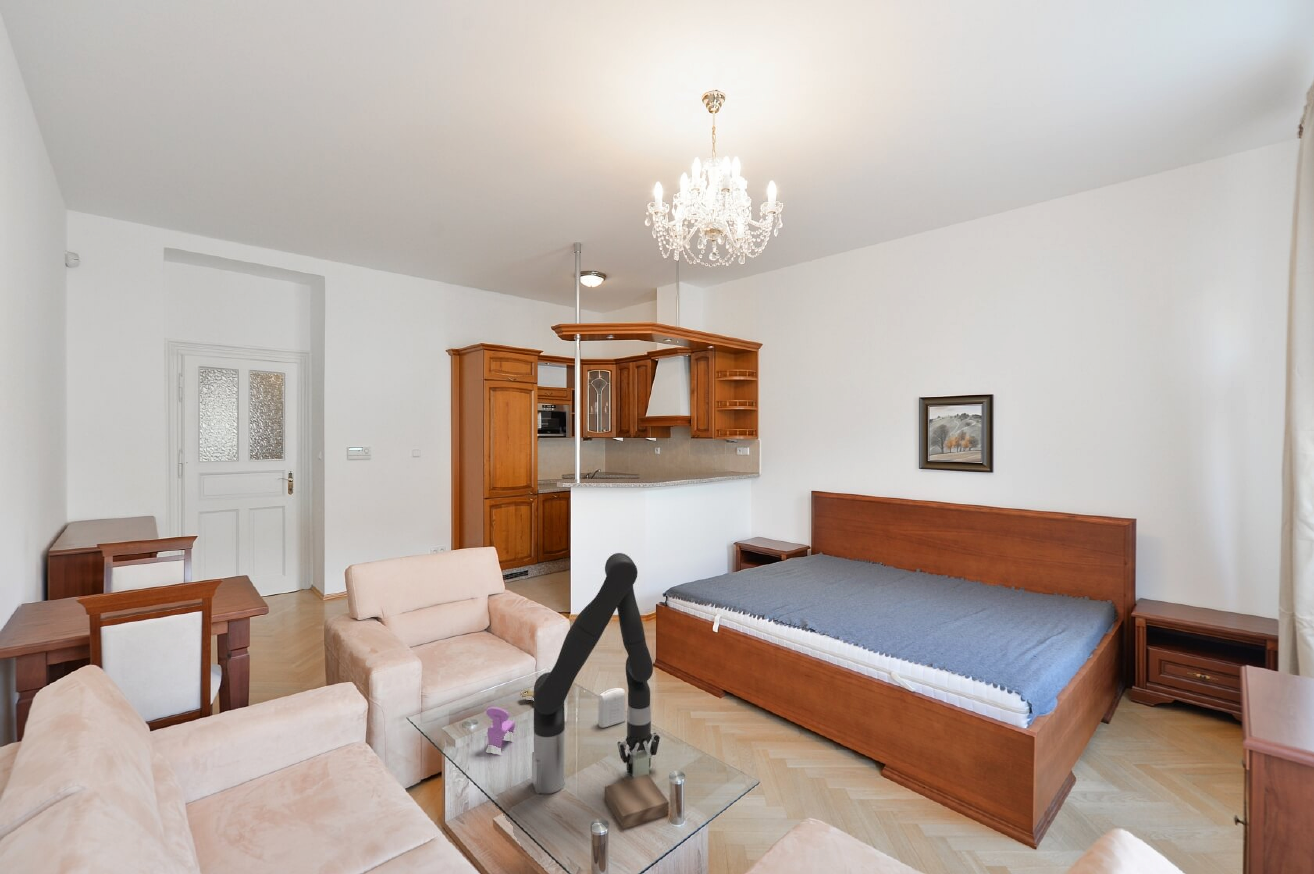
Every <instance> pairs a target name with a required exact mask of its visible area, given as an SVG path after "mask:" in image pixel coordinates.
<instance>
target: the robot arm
mask: <svg viewBox="0 0 1314 874" xmlns="http://www.w3.org/2000/svg"><path fill="white" fill-rule="evenodd" d="M604 572H605V579H604V582H603V583H602V584H601V586H600V589H599V590H598V593H597V594H596V595H595V597H594V598H593V599H592V600H591V601H590V602H589V603H588V604H587V605H586V606H584V608H583V609H582V610H581V611H580V612H579V613H578V615H577V617H576V618H575V620H574V621H573V622H572V625H571V626H570V628H569V630H568V631H567V634H566V635H565V638H564V640H563V643H562V644H561V645H562V646H561V648H560V652H559V655H558V657H557V659H556V662H555V664H554V666H553V667H552V669H551V671H550V672H544V673H543V674H541V675H540V676H539V677H538V678H537V679H536V680H535V681H534V682H535V683H534V686H533V691H534V702H533V751H532V752H531V784H532V786H533V788H534V790H535V793H536V794H537V795H538V794H546V795H547V794H554V793H556V792H559V791H561V790H562V789H563V787H565V782H566V781H565V779H566V778H565V777H566V775H565V771H566V770H565V767H566V765H565V763H566V762H565V760H566V759H565V758H566V757H565V756H566V755H565V754H566V753H565V751H566V750H565V744H566V742H565V741H566V740H565V738H566V737H565V736H566V734H565V732H566V731H565V726H566V725H565V724H566V723H565V722H566V719H565V712H566V711H565V701H566V698H567V696H568V694H569V692H570V689H571V687H572V685H573V683H574V681H575V679H576V677H577V676H578V674H579V673H580V671H581V669H582V668H583V666H584V664H585V663H586V661H587V660H588V658H589V657H590V655H591V653H592V652H593V650H594V648H595V647H596V645H597V644H598V643H599V640H600V639H601V637H602V635H603V633H604V631H605V630H606V628H607V626H608V625H609V622H610V621H611V619H612V617H613V615H614V614H615V611H616V610H617V616H618V622H619V628H620V633H621V634H620V635H621V638H622V643H623V648H624V649H625V651H626V653H627V657H626V660H625V676H626V684H627V690H628V691H627V709H626V710H627V711H626V738H625V740H624V741H618V742H617V747H618V752H619V755H620V759H621V760H622V762H623V764H626V771H627V773H628V774H629V775H631V774H633V763H632V762H633V758H634V757H635V755H636V752H638V751H640V750H644V751H645V752H646V754H648V755H649V768H651V764H652V763H651V759H652V756H656V755H657V753H658V749H659V744H660V743H659V742H660V739H661V737H660V735H659V734H658V733H657V732H654V733H651V732H652V730H651V729H652V709H651V688H650V686H649V683H648V681H649V679H651V677H652V675H653V672H654V665H653V661H652V657H651V654H650V650H649V648H648V645H647V641H646V634H645V629H644V624H643V621H642V617H641V613H640V609H639V607H638V602H637V599H636V596H635V595H636V594H635V590H634V589H635V588H634V584H635V583H636V580H637V579H638V567H637V565H636V564H635V562H634V560H632V558H631V557H630V556H628V554H625V553H622V552H617V553H616V552H615V553H613V554H611V555H610V556H609V557H608V558H607V560H606V562H605V565H604ZM650 742H651V744H650ZM649 744H650V747H649ZM627 746H628V748H627ZM626 749H627V753H626ZM631 776H632V775H631Z"/></svg>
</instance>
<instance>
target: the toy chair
mask: <svg viewBox="0 0 1314 874" xmlns="http://www.w3.org/2000/svg"><path fill="white" fill-rule="evenodd" d="M485 713H486V715H487V717H489V718H490V719H492V724H491V725H490V726H489V727H488V728H487V732H486V733H487V738H488V745H493V746H496V747H498V748H501V749H502V744H503V742H504V741H503V739H504V736H505V734H506V733H507V731H509V732H512V733H513V734H514V730H515V727H516V724H515V721H512V720H508V719H509V717H510V714H509V712H508V711H507V710H505V709H503V708H500V707H496V706H491V707H488V708H487V709H486V712H485Z"/></svg>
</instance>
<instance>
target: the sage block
mask: <svg viewBox="0 0 1314 874" xmlns="http://www.w3.org/2000/svg"><path fill="white" fill-rule="evenodd" d="M632 763H633V774H631V777H632V779H633V778H636V777H640V776H643V775H647V774H648V775H649V776H650V767H649V755H648V754H646V752H645V751H644V750H640V751H638V752H636V755H635V757H634V758H633V762H632Z"/></svg>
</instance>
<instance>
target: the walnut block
mask: <svg viewBox="0 0 1314 874" xmlns="http://www.w3.org/2000/svg"><path fill="white" fill-rule="evenodd" d="M603 794H604V800H605V801H606V803H607V805H608V807H609V809H610V810H611V812H612V814H613V816H615V819H616V821H617V822H618V824H619V825H620V827H621V829H623V830H625V829H628V828H632V827H634V826H637V825H640V824H643V823H646V822H649V821H652V820H655V819H659V818H661V817H665V816H667V814H668V813H669V814H670V811H669V809H670V804H669V803H670V802H669V800H668V798H667V797H666V796H665V794H664V793H663V792H662V791H661V790H660V789H659V787H658V786H657V784H656V782H654V780H653V779H652V777H650V774H649V775H648V774H647V775H643V776H640V777H636V778H633V777H632V778H630V779H627V780H623V781H619V782H616V783H614V784H613V783H612V784H609V785H605V786H604V793H603ZM669 814H668V815H669Z"/></svg>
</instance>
